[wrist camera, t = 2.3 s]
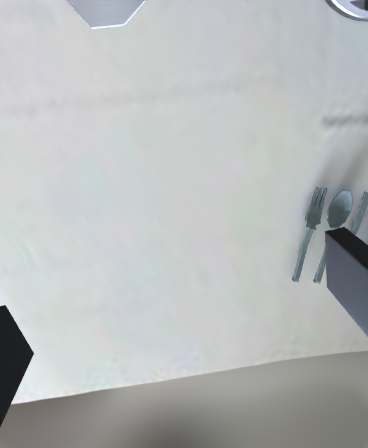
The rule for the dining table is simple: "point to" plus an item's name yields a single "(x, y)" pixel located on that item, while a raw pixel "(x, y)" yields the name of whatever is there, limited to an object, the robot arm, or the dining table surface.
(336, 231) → the robot arm
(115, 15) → the wineglass
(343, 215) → the cutlery set
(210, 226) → the dining table surface
